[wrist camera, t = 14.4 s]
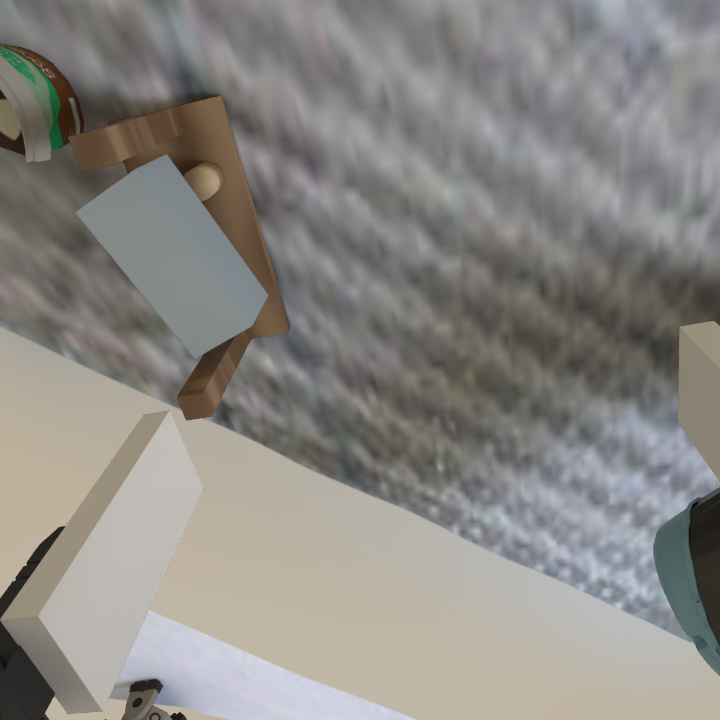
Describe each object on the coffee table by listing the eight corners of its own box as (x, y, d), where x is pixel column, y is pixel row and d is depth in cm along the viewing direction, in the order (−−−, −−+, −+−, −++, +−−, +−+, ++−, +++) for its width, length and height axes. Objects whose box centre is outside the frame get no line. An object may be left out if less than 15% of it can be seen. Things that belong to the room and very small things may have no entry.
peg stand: (221, 95, 46) (155, 116, 34) (290, 326, 55) (257, 409, 43) (115, 120, 48) (14, 149, 35) (199, 342, 57) (142, 427, 44)
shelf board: (166, 153, 44) (134, 169, 39) (268, 295, 49) (252, 325, 44) (112, 192, 46) (75, 212, 41) (216, 325, 51) (194, 358, 46)
